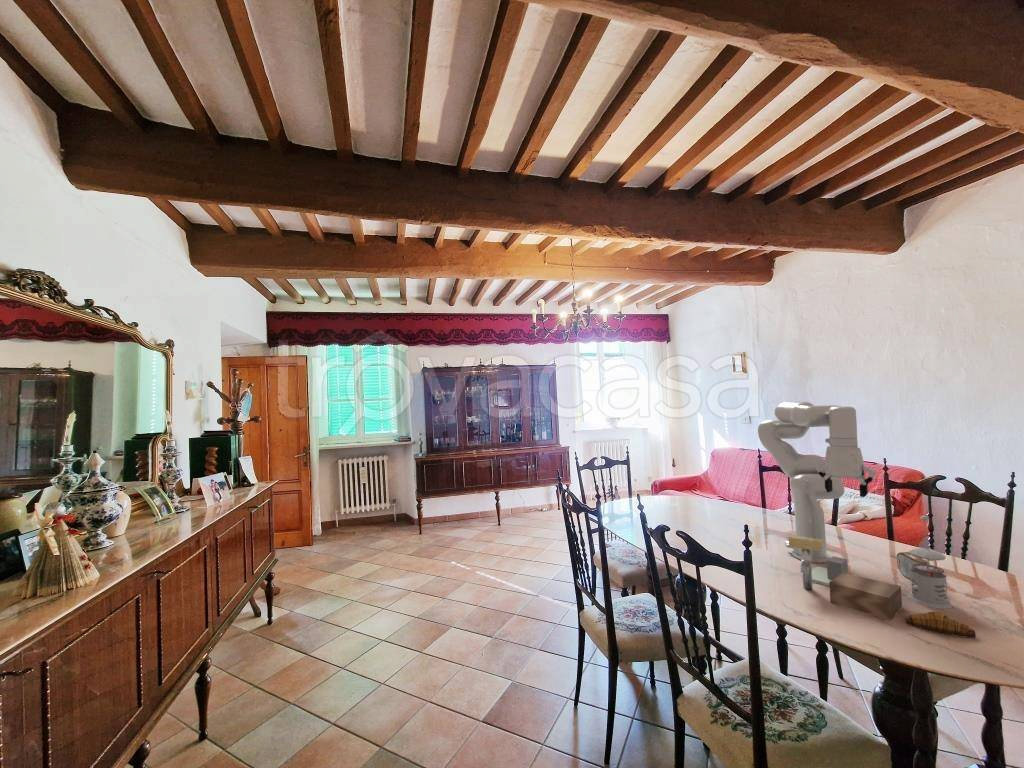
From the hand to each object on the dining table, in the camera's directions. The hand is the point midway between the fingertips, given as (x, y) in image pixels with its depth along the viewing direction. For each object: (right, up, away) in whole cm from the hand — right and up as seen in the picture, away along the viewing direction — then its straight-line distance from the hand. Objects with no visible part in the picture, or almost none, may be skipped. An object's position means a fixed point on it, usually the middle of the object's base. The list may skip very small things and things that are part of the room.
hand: (845, 493), depth 150 cm
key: (-20, -28, -10) cm, 36 cm away
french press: (+13, -28, -17) cm, 35 cm away
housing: (-8, -28, -19) cm, 35 cm away
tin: (+20, -28, -4) cm, 35 cm away
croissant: (-1, -28, -34) cm, 44 cm away
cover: (-4, -29, -2) cm, 29 cm away
